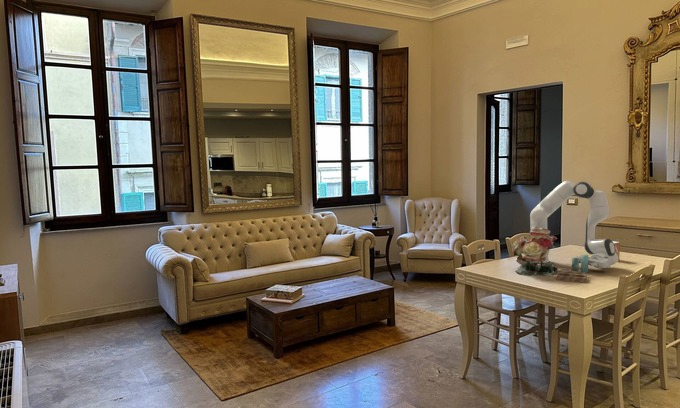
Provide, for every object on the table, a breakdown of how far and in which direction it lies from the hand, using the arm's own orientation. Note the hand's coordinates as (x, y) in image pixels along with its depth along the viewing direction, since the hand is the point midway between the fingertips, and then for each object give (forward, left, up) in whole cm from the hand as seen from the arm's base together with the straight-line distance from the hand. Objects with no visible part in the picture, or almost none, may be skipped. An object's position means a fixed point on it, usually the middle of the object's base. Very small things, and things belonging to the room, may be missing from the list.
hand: (583, 263), depth 302 cm
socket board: (-5, -22, -6) cm, 24 cm away
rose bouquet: (-28, -11, -6) cm, 31 cm away
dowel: (+1, +1, -6) cm, 6 cm away
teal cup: (-7, -8, -6) cm, 13 cm away
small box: (+17, +49, -6) cm, 52 cm away
